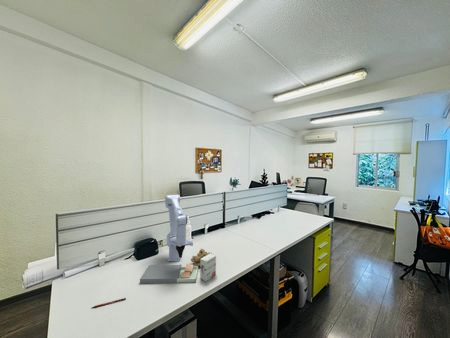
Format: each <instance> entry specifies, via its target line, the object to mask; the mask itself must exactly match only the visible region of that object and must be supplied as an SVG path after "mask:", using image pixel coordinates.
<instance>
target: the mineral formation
mask: <svg viewBox="0 0 450 338" xmlns="http://www.w3.org/2000/svg"><path fill="white" fill-rule="evenodd" d="M210 253H211V254H213V253H212V252H210V251H209V252H208V251H205V249H204V248H200V250H199V252H198V253H197V254H196V255H192V258H190V262H191V263H193V265H194V266H198V267H200V259H201V258H203V257H205V256H206V255H208V254H210Z"/></svg>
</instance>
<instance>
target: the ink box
mask: <svg viewBox="0 0 450 338" xmlns="http://www.w3.org/2000/svg"><path fill="white" fill-rule="evenodd" d="M211 253H212V252H210V254H208V255H206V256H205V257H203V258H201V259H200V266H199V267H200V269H199V270H200V271H199V273H200V274H199V275H200V277H199V278H200V279H201V280H202V281H204V282H208V281H209V280H210V279H211V278H213V277H214V276H216V275H217V273H216V271H217V266H216V265H217V259H216V258H217V255H215V254H213V253H212V254H211Z"/></svg>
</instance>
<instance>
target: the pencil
mask: <svg viewBox="0 0 450 338" xmlns="http://www.w3.org/2000/svg"><path fill="white" fill-rule="evenodd" d="M126 298H127V297H123V298H119V299H116V300H113V301H109V302H104V303H100V304H97V305H94V306H92V307H91V309H97V308H100V307H104V306H108V305H112V304H116V303H120V302H123V301H126Z"/></svg>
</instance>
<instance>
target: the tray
mask: <svg viewBox="0 0 450 338" xmlns="http://www.w3.org/2000/svg"><path fill="white" fill-rule="evenodd" d="M185 267H186V265H184V266H182V265H181V271H180V274H179V277H178V279H177V283H176V284H179V283H180V284H184V283H185V284H186V283H189V284H190V283H191V284H192V283H193V284H194V283H197V278H198V277H197V276H198V272H199V266H194V268H193V272H192V274H191V273H190V278H184V279H181V275H182V272H184V270H185Z"/></svg>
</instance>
